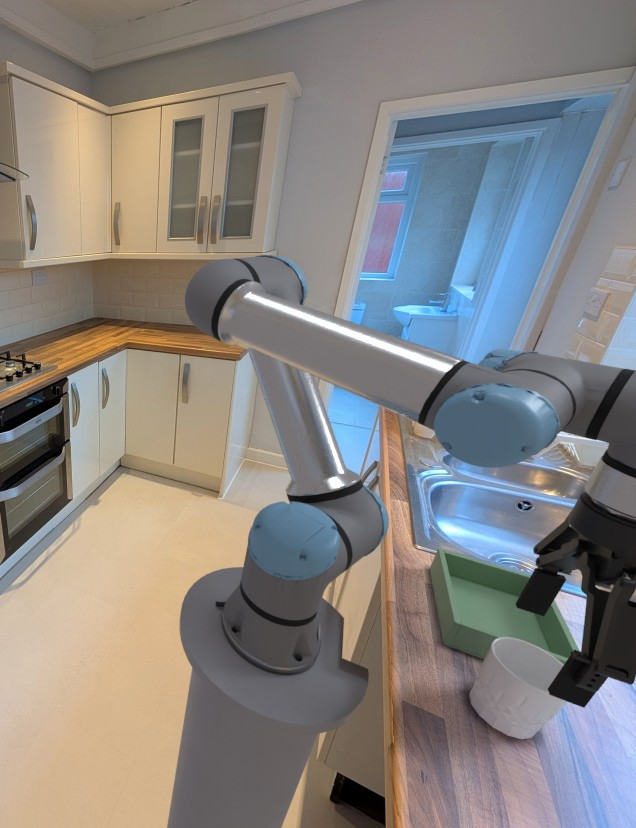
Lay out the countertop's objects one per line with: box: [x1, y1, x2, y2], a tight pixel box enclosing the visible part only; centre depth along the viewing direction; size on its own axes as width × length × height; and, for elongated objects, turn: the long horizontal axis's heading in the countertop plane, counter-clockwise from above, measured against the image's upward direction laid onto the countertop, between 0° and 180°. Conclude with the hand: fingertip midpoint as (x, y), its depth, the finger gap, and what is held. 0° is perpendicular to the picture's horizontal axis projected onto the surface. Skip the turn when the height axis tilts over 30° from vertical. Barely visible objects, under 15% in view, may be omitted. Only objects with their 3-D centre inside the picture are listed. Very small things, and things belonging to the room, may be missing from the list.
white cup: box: [468, 637, 568, 740], centre depth 56 cm, size 8×8×10 cm
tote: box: [428, 548, 580, 665], centre depth 70 cm, size 15×19×5 cm
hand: (545, 649), depth 52 cm, fingers open, 13 cm apart
